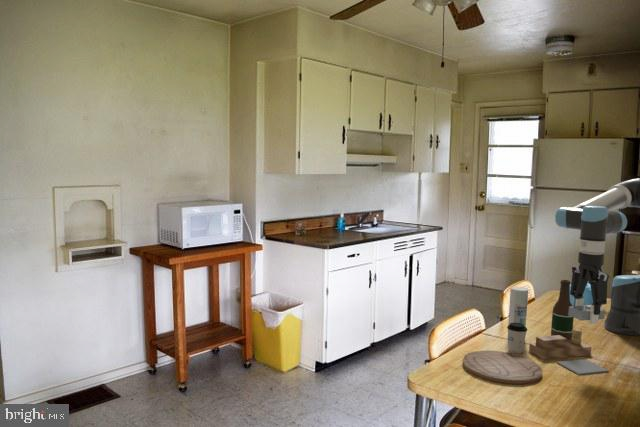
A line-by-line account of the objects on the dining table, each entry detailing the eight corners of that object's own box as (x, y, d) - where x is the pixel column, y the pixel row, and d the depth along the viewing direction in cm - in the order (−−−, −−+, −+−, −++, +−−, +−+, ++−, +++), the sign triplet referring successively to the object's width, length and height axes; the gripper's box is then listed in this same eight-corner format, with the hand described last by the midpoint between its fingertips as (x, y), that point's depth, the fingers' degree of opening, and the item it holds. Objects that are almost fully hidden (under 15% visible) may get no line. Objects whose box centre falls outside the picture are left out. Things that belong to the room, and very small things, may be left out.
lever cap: (590, 313, 176) (591, 303, 176) (604, 319, 170) (605, 307, 170) (568, 315, 174) (569, 304, 173) (581, 320, 168) (582, 309, 168)
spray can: (517, 335, 206) (520, 286, 204) (528, 340, 199) (532, 290, 197) (503, 336, 204) (506, 287, 202) (514, 341, 197) (518, 291, 195)
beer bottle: (574, 345, 195) (579, 283, 193) (552, 343, 197) (557, 282, 195) (569, 338, 203) (573, 279, 201) (548, 336, 205) (552, 277, 202)
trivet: (513, 353, 186) (513, 348, 186) (559, 383, 162) (559, 377, 161) (449, 357, 181) (449, 352, 180) (487, 388, 156) (487, 382, 156)
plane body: (574, 347, 193) (576, 326, 192) (590, 354, 186) (592, 333, 185) (529, 351, 188) (530, 329, 187) (544, 359, 180) (545, 337, 179)
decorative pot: (572, 302, 259) (574, 275, 257) (606, 309, 247) (609, 281, 245) (558, 307, 248) (559, 279, 247) (593, 315, 236) (595, 286, 235)
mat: (585, 360, 180) (585, 359, 180) (608, 371, 171) (608, 370, 171) (556, 363, 177) (557, 361, 177) (578, 375, 167) (578, 373, 167)
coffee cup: (525, 349, 190) (527, 323, 189) (526, 355, 183) (528, 328, 182) (505, 346, 192) (507, 320, 191) (505, 353, 185) (507, 326, 184)
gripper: (561, 248, 178) (556, 312, 180) (605, 258, 160) (599, 330, 162) (579, 247, 180) (574, 311, 182) (624, 257, 162) (618, 328, 164)
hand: (585, 320), depth 172 cm, fingers closed on lever cap, 6 cm apart
